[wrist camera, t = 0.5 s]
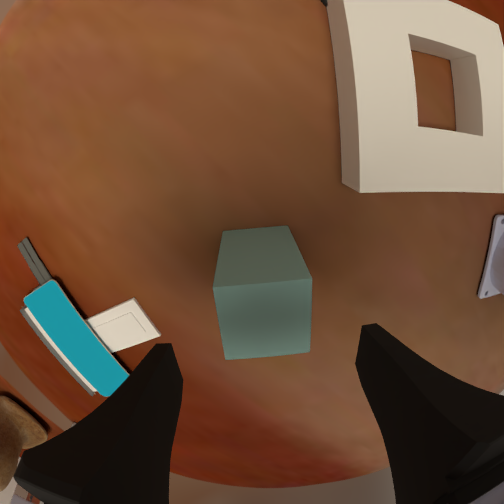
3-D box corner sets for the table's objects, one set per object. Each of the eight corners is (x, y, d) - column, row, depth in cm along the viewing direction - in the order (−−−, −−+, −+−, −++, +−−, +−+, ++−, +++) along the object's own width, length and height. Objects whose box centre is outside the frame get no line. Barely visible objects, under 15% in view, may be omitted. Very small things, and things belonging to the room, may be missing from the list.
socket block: (474, 30, 12) (498, 24, 9) (485, 184, 17) (510, 193, 14) (323, -10, 12) (336, -30, 9) (341, 183, 17) (359, 193, 14)
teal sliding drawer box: (213, 393, 25) (212, 406, 23) (121, 413, 26) (117, 424, 25) (77, 196, 17) (65, 203, 16) (-1, 262, 19) (-11, 270, 17)
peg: (287, 225, 18) (312, 278, 12) (289, 282, 20) (309, 352, 13) (222, 231, 18) (212, 287, 12) (230, 287, 20) (225, 359, 13)
